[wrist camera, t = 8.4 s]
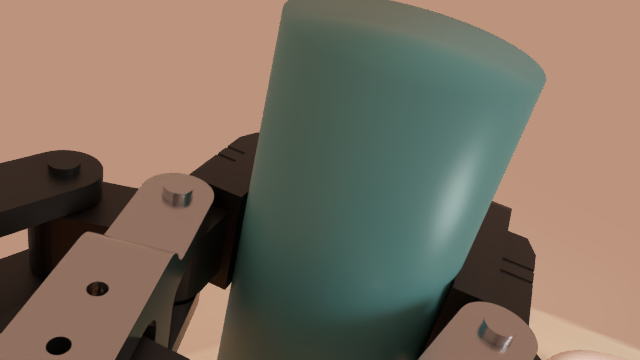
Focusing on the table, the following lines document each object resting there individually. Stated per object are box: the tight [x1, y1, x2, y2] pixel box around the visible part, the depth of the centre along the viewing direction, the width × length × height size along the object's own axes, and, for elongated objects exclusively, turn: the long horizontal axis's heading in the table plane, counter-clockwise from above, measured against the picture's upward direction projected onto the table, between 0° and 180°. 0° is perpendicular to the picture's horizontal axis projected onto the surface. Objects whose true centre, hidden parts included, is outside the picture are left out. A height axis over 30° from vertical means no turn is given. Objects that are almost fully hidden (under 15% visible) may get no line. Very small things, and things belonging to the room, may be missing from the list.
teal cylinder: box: [217, 0, 546, 360], centre depth 11 cm, size 4×4×11 cm
